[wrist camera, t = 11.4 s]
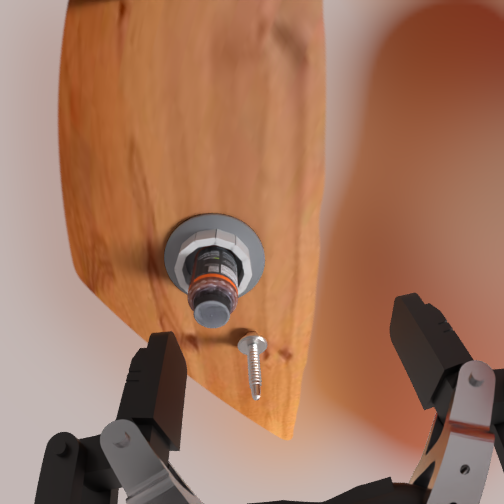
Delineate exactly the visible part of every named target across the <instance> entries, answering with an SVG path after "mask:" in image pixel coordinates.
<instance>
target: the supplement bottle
mask: <svg viewBox="0 0 504 504" xmlns="http://www.w3.org/2000/svg"><path fill="white" fill-rule="evenodd" d="M188 303H189V306H190V307H191V309H192V310H193V311H194V318H195V320H196V321H197V322H198V323H199V324H200V325H202V326H204V327H207V328H218V327H221V326H223V325H225V324H226V323H227V322H228V320H229V318H230V314H231V313H232V312H233V311H234V309H235V308H236V306H237V303H238V283H237V264H236V258H235V256H234V254H233V253H232V252H231V251H230V250H229V249H227V248H224V247H221V246H217V245H210V246H205V247H203V248H201V249H200V250H199V251H198V252H197V254H196V255H195V257H194V261H193V266H192V272H191V277H190V283H189V288H188Z"/></svg>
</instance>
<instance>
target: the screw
mask: <svg viewBox="0 0 504 504" xmlns="http://www.w3.org/2000/svg"><path fill="white" fill-rule="evenodd" d="M266 348H267V341H266V339H265V338H264V337H262V336H260V335H258V334H257V333H256V332H247V334H246V335H245V336H244V337H242V338H241V339H240V340H239V341H238V349H239V351H240V352H242V353H243V354H246V355H248V357H247V358H248V372H249V374H248V375H249V385H250V388H251V391H252V397H253V399H254V400H259V397H260V386H261V382H262V381H261V374H260V373H261V371H260V360H259V354H260V353H262V352H264V351H265V350H266Z"/></svg>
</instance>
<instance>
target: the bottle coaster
mask: <svg viewBox="0 0 504 504" xmlns="http://www.w3.org/2000/svg"><path fill="white" fill-rule="evenodd" d="M210 245H217V246H221V247H224V248H227V249H229V250H230V251H231V252H232V253H233V254H234V256H235V258H236V264H237V283H238V298H239V297H241V296H243V295H244V294H246V293H247V292H249V291H250V290H251V289H252V288H253V287H254V286H255V285H256V284H257V283H258V281H259V279H260V278H261V275H262V273H263V270H264V264H265V256H264V250H263V246H262V243H261V241H260V239H259V237H258V236H257V234H256V233H255V232H254V230H253V229H252V228H251V227H250V226H248V225H247V224H246V223H244V222H243V221H241V220H239V219H237V218H235V217H232V216H229V215H225V214H219V213H208V214H201V215H197V216H194V217H192V218H190V219H188V220H186V221H184V222H183V223H182V224H180V225H179V226H178V227H177V228H176V229H175V230H174V231H173V233H172V234H171V236H170V238H169V240H168V242H167V245H166V248H165V253H164V261H165V267H166V270H167V273H168V275H169V277H170V279H171V280H172V282H173V283H174V284H175V285H176V286H177V287H178V288H179V289H180V290H181V291H183V292H184V293H185V294H187V295H188V288H189V283H190V277H191V272H192V266H193V261H194V257H195V255H196V254H197V252H198V251H199V250H200V249H201V248H203V247H205V246H210Z"/></svg>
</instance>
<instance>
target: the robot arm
mask: <svg viewBox="0 0 504 504" xmlns="http://www.w3.org/2000/svg"><path fill="white" fill-rule="evenodd" d="M390 337H391V341H392V343H393V345H394V347H395V349H396V351H397V353H398V355H399V357H400V359H401V361H402V363H403V366H404V367H405V370H406V372H407V374H408V376H409V378H410V380H411V382H412V384H413V387H414V389H415V391H416V393H417V395H418V398H419V400H420V402H421V404H422V406H423V409H424V410H426V409H429V408H432V407H435V409H436V411H437V413H436V414H435V417H434V420H433V424H432V427H431V430H430V434H429V437H428V440H427V443H426V446H425V449H424V451H423V454H422V457H421V460H420V462H419V464H418V465H417V467H416V469H415V471H414V473H413V475H412V477H411V479H410V481H409V484H408V483H392V480H391V477H388V478H385V479H381V480H378V481H374V482H371V483H368V484H364V485H360V486H357V487H355V488H353V489H351V490H349V491H347V492H344V493H342V494H340V495H338V496H336V497H334V498H332V499H329V500H327V501H324V502H299V501H286V500H281V501H272V502H262V503H249V504H479V503H480V499H481V496H482V492H483V489H484V485H485V482H486V478H487V474H488V470H489V466H490V461H491V457H492V452H493V446H494V447H495V449H496V452H497V455H498V457H499V460H500V463H501V465H502V469H503V472H504V369H495V370H492V369H491V368H490V366H488V365H487V364H486V363H484V362H482V361H477V360H473V358H472V357H471V355H470V354H469V352H468V351H467V349H466V348H465V346H464V345H463V343H462V342H461V340H460V339H459V337H458V336H457V334H456V333H455V331H453V330H452V327H451V326H450V324H449V323H447V320H446V319H445V317H444V316H443V314H442V313H441V312H440V310H438V309H437V308H435V307H434V306H432V305H431V304H429V303H428V304H424V303H423V301H422V300H421V298H420V297H419V296H418V294H416V293H411V294H407V295H402V296H398V297H396V298H395V301H394V307H393V313H392V318H391V323H390ZM186 379H187V366H186V361H185V358H184V356H183V354H182V351H181V349H180V347H179V344H178V342H177V340H176V337H175V335H174V333H173V332H172V331H170V332H160V333H152V334H151V335H150V338H149V342H148V346H147V348H140V349H139V351H138V352H137V353H136V354H135V356H134V357H133V358H132V361H131V364H130V368H129V373H128V375H127V379H126V383H125V387H124V390H123V394H122V398H121V403H120V406H119V410H118V414H117V418H116V420H115V421H113V422H111V423H110V424H108V425H107V426H106V427H105V428H104V429H103V431H102V433H101V434H100V435H97V436H92V437H87V438H83V439H77V438H76V437H75V436H74V435H72V434H71V433H68V432H60V433H58V434H56V435H54V436H53V437H52V438H51V439H50V440H49V442H48V444H47V446H46V450H45V454H44V458H43V463H42V467H41V472H40V477H39V481H38V486H37V492H36V497H35V503H34V504H117V502H118V490H119V488H121V487H123V488H124V490H125V492H126V494H127V496H128V498H127V499H126V503H127V504H203V502H201V500H200V499H199V498H198V497H197V496H196V495H195V494H194V492H193V491H192V490H191V489H190V488H189V486H188V485H187V484H186V483H185V482H184V480H183V479H182V478H181V476H180V475H179V474H178V472H177V471H176V470H175V469H174V467H173V466H172V465H171V463H170V462H169V461H168V459H169V451H179V450H180V439H181V428H182V418H183V408H184V397H185V388H186Z"/></svg>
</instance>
